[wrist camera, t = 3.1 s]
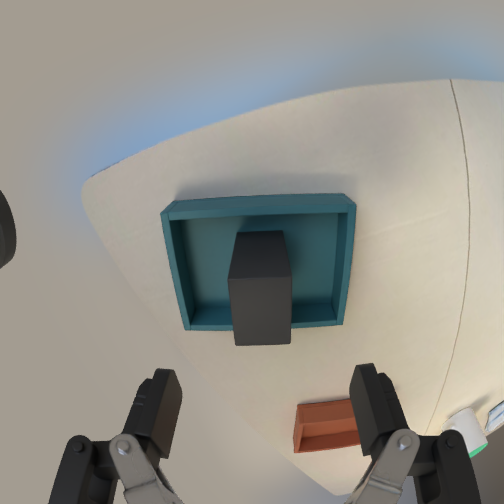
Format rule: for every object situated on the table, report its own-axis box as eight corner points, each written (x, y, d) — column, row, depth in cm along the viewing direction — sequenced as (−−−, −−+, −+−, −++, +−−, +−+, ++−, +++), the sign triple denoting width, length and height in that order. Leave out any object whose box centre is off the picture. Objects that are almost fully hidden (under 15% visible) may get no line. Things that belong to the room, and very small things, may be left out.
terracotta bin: (293, 437, 36) (294, 453, 33) (297, 404, 32) (299, 423, 29) (372, 426, 35) (376, 441, 33) (391, 391, 31) (397, 408, 28)
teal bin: (191, 308, 25) (184, 330, 22) (172, 200, 21) (159, 213, 18) (334, 303, 25) (342, 325, 22) (344, 193, 20) (356, 204, 18)
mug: (424, 431, 39) (437, 470, 29) (452, 407, 36) (470, 448, 26) (452, 428, 40) (465, 461, 31) (477, 406, 37) (493, 440, 28)
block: (241, 287, 23) (235, 346, 17) (236, 231, 21) (226, 279, 15) (283, 286, 23) (290, 344, 17) (282, 229, 21) (292, 276, 15)
